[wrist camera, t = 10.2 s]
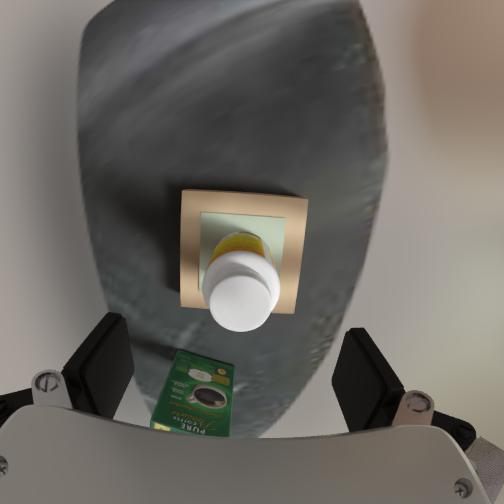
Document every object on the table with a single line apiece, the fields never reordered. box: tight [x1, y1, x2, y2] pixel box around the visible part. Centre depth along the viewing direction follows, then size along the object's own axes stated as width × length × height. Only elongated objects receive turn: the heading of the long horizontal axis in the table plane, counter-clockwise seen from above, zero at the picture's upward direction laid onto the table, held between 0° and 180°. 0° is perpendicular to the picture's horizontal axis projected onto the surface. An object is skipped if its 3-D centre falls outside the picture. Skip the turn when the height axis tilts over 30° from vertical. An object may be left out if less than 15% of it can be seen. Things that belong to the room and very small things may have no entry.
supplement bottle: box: [202, 231, 280, 332], centre depth 22 cm, size 6×6×10 cm
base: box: [180, 189, 308, 314], centre depth 28 cm, size 12×12×3 cm
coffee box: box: [150, 349, 235, 437], centre depth 27 cm, size 8×3×13 cm, turn 71°
